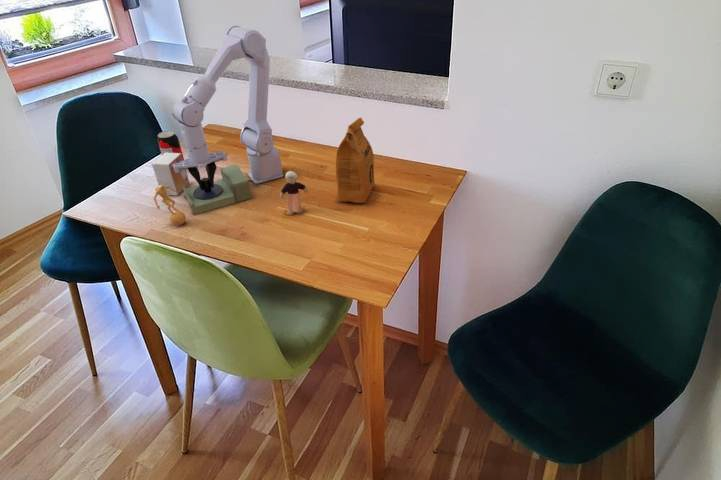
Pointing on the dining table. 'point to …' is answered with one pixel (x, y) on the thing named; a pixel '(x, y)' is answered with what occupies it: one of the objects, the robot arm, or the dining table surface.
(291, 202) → the grandmother figurine
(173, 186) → the small box
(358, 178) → the coffee package
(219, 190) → the lid
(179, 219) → the figurine
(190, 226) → the dining table surface
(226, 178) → the green step block
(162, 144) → the beverage can
